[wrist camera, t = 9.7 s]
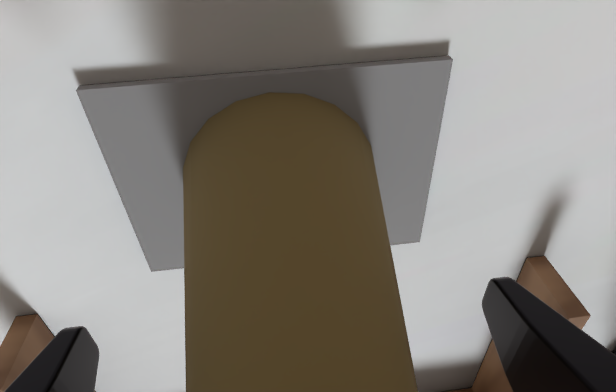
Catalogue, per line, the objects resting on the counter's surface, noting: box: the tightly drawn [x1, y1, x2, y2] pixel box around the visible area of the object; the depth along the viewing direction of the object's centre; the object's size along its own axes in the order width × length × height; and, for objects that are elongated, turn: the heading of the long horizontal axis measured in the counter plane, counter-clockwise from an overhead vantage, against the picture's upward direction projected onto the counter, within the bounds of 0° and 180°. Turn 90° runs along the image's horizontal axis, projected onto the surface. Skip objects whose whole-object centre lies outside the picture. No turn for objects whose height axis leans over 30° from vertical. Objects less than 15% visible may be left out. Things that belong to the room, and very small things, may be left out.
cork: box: [183, 92, 418, 392], centre depth 9 cm, size 6×6×11 cm
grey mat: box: [76, 56, 453, 272], centre depth 13 cm, size 10×7×1 cm
